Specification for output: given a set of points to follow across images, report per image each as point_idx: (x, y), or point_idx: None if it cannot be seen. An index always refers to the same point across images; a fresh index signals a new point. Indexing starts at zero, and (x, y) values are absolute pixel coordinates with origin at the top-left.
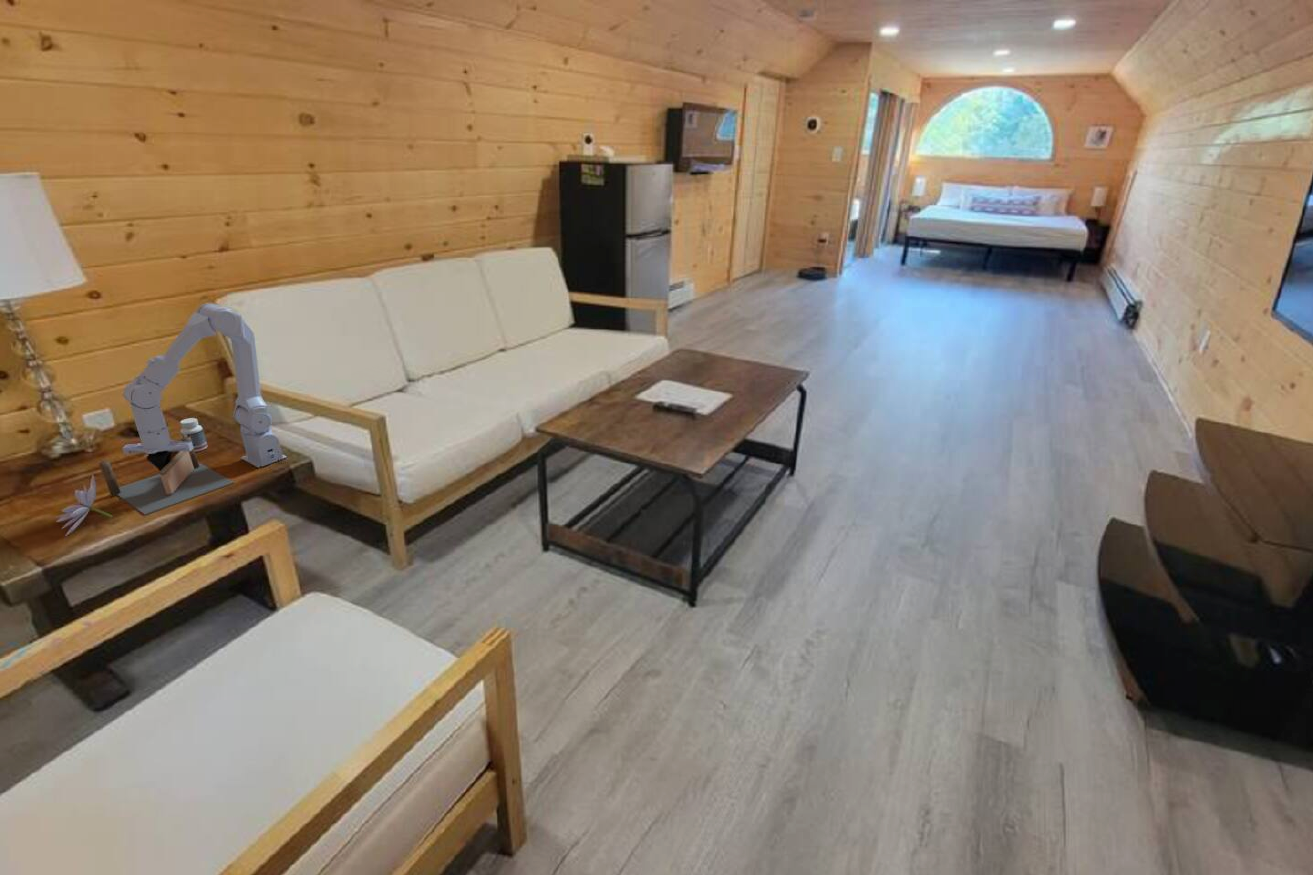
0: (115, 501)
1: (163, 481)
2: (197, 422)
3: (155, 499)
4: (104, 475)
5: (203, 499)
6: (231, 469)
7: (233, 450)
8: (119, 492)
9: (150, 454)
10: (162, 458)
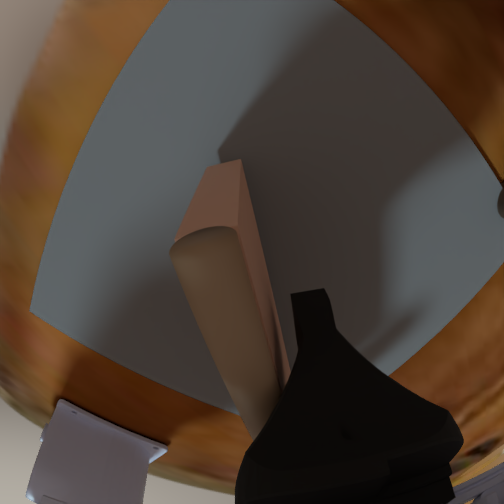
0: (487, 123)
1: (230, 194)
2: None
3: (288, 106)
4: None
5: (26, 152)
6: (140, 402)
7: (238, 470)
8: (500, 200)
9: (429, 480)
10: (252, 465)
